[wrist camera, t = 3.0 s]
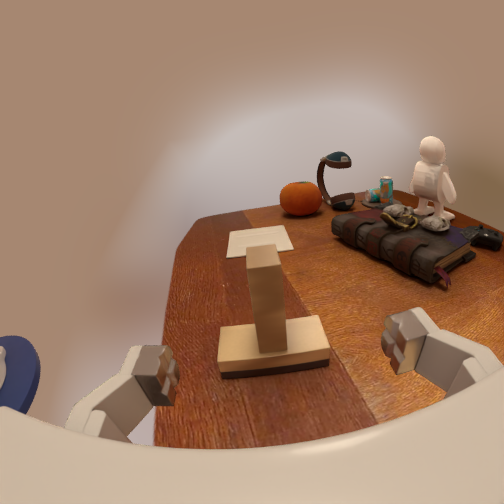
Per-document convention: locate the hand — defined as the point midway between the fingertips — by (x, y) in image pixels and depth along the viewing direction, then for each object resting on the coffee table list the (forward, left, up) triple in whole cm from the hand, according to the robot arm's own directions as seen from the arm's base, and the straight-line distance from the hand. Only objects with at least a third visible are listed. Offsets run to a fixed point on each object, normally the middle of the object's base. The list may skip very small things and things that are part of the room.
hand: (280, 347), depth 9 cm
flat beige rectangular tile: (0, +44, -13) cm, 46 cm away
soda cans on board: (+36, +61, -13) cm, 72 cm away
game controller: (+45, +28, -13) cm, 55 cm away
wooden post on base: (0, +12, -13) cm, 18 cm away
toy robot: (+44, +47, -13) cm, 66 cm away
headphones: (+23, +60, -13) cm, 66 cm away
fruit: (+12, +59, -13) cm, 62 cm away
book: (+26, +32, -13) cm, 43 cm away
